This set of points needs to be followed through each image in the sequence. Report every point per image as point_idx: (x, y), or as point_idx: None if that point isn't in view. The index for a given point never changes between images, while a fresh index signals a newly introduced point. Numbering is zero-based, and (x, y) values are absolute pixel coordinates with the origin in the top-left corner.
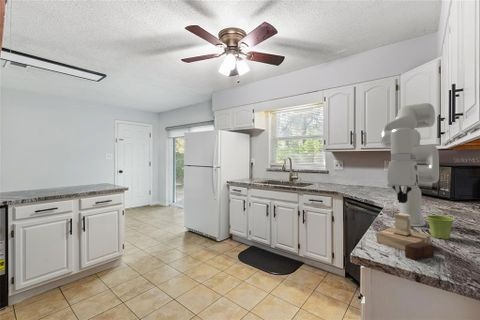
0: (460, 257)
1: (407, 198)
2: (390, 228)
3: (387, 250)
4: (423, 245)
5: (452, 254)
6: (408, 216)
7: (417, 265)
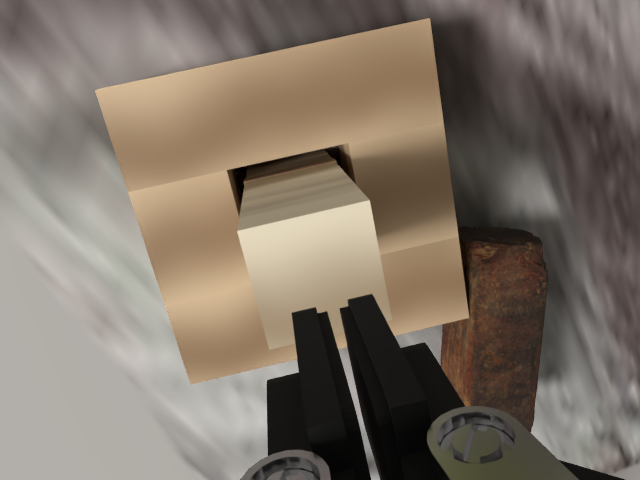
0: (605, 97)
1: (435, 362)
2: (132, 156)
3: None
4: (532, 351)
5: (561, 87)
6: (378, 254)
7: None
